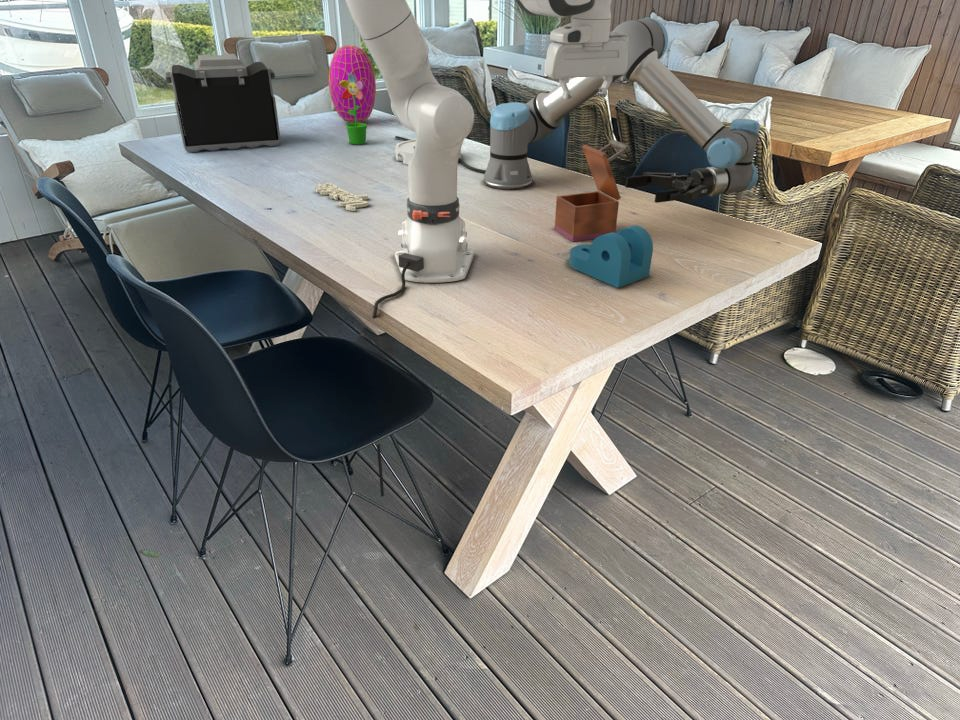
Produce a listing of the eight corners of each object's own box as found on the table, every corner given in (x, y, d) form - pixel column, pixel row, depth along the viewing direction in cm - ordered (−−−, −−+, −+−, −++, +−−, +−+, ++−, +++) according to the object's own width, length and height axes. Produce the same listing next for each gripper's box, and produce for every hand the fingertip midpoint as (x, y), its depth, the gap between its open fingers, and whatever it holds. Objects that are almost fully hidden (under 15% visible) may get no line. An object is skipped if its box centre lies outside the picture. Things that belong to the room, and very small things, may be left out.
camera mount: (649, 276, 155) (655, 231, 150) (618, 287, 149) (623, 242, 144) (590, 252, 167) (594, 210, 162) (559, 262, 161) (562, 219, 156)
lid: (602, 155, 165) (629, 137, 166) (581, 146, 173) (608, 129, 174) (617, 200, 173) (644, 183, 174) (597, 189, 181) (622, 173, 182)
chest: (572, 241, 174) (575, 207, 169) (554, 229, 182) (556, 196, 177) (615, 235, 178) (619, 201, 174) (595, 223, 186) (598, 190, 182)
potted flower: (342, 144, 260) (336, 73, 247) (351, 139, 266) (346, 70, 254) (365, 146, 257) (360, 74, 245) (374, 141, 264) (369, 71, 251)
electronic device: (278, 133, 274) (267, 51, 259) (285, 146, 256) (274, 59, 241) (180, 140, 262) (162, 54, 247) (180, 153, 244) (161, 62, 229)
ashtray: (454, 167, 232) (454, 155, 230) (388, 164, 235) (387, 152, 233) (466, 151, 252) (466, 140, 250) (404, 148, 255) (404, 137, 253)
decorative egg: (362, 116, 305) (357, 42, 290) (386, 123, 292) (382, 46, 277) (324, 121, 294) (316, 45, 279) (347, 129, 281) (340, 49, 266)
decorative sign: (381, 201, 196) (350, 208, 191) (381, 205, 197) (350, 211, 192) (338, 180, 214) (308, 186, 209) (338, 183, 215) (308, 189, 209)
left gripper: (621, 30, 161) (615, 92, 168) (543, 32, 154) (540, 97, 161) (636, 32, 156) (629, 96, 163) (557, 35, 149) (553, 102, 156)
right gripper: (734, 209, 180) (667, 218, 173) (675, 183, 199) (613, 190, 192) (740, 180, 176) (672, 188, 169) (680, 156, 196) (616, 163, 188)
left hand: (584, 97), depth 162 cm, fingers open, 8 cm apart
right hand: (640, 189), depth 180 cm, fingers open, 13 cm apart
